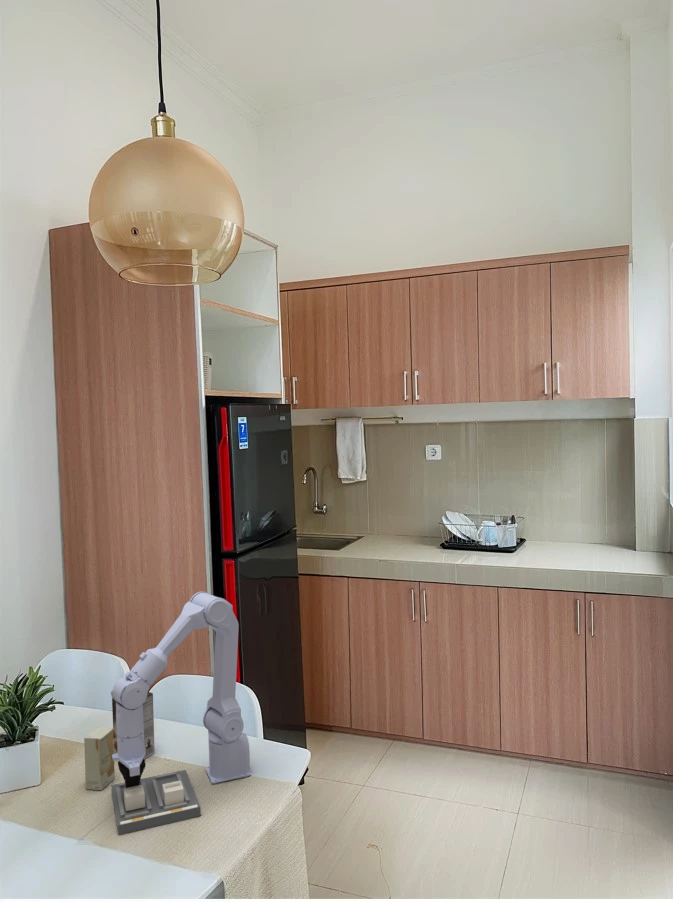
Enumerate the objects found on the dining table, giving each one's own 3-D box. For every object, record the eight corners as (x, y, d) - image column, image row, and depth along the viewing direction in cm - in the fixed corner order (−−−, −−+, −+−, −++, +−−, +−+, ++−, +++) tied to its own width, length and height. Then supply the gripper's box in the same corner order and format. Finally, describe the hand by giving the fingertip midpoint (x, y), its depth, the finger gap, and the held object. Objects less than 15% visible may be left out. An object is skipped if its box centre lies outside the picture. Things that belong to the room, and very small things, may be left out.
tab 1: (143, 798, 156) (142, 782, 156) (145, 807, 152) (144, 790, 152) (124, 802, 154) (123, 786, 154) (125, 811, 151) (125, 794, 150)
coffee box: (112, 755, 182) (109, 694, 181) (131, 745, 187) (129, 685, 186) (137, 763, 177) (134, 700, 176) (156, 753, 182) (154, 692, 181)
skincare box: (102, 791, 164) (99, 739, 163) (85, 789, 165) (82, 738, 164) (116, 777, 170) (114, 727, 170) (99, 776, 171) (97, 726, 170)
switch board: (185, 777, 169) (185, 767, 169) (200, 815, 152) (200, 804, 152) (111, 793, 163) (111, 782, 162) (118, 835, 146) (117, 822, 146)
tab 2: (180, 793, 157) (180, 777, 157) (184, 802, 154) (183, 786, 153) (162, 797, 156) (162, 781, 156) (165, 806, 152) (164, 790, 152)
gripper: (109, 723, 161) (111, 782, 161) (114, 750, 147) (116, 814, 148) (140, 718, 164) (143, 775, 164) (148, 743, 150) (151, 806, 151)
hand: (132, 793), depth 156 cm, fingers closed
